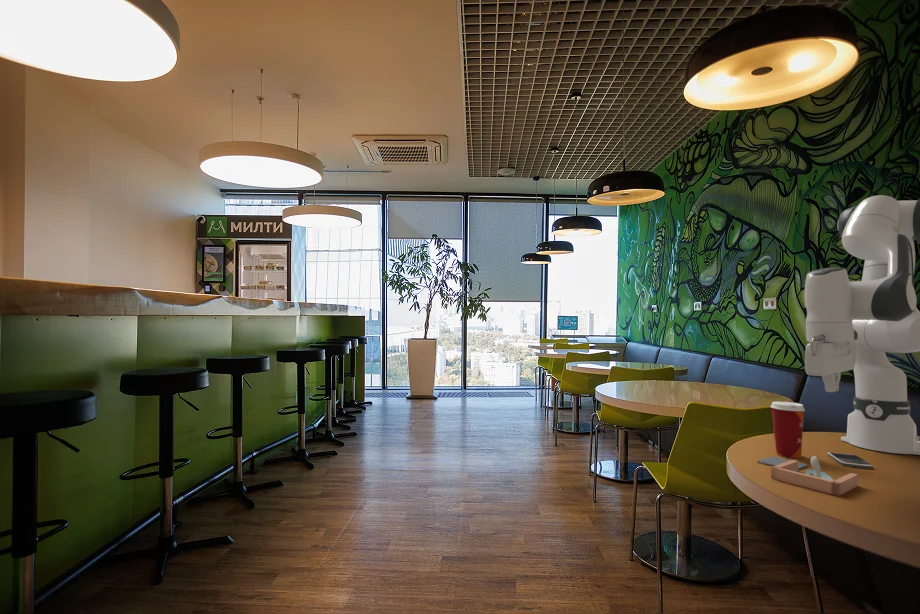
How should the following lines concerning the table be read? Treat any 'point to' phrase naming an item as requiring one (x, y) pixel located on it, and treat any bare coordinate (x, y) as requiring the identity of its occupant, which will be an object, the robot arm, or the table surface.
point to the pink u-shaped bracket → (813, 479)
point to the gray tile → (779, 462)
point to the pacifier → (817, 470)
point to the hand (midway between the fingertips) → (832, 391)
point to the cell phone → (850, 460)
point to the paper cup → (788, 428)
